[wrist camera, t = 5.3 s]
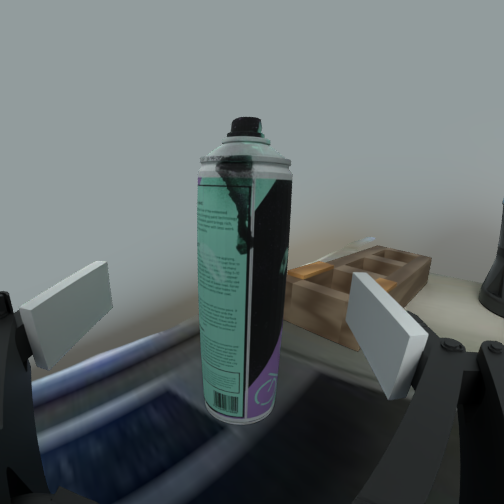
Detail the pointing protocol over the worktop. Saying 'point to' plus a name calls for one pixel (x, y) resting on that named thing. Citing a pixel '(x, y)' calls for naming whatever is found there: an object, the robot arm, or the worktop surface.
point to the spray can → (242, 271)
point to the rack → (339, 284)
